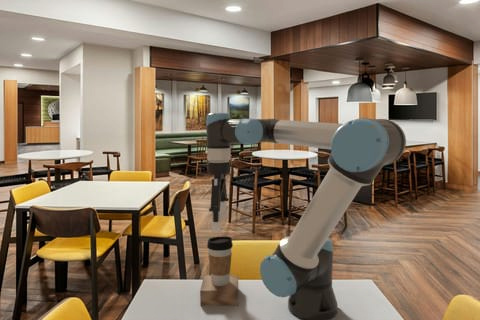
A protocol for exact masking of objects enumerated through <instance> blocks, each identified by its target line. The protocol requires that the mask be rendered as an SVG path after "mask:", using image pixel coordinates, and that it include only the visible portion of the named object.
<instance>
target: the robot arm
mask: <svg viewBox="0 0 480 320" xmlns="http://www.w3.org/2000/svg"><path fill="white" fill-rule="evenodd" d="M205 128H206V150H205V152H204V153H205V154H206V155H207V156H206V158H207V159H206V160H207V161H208V162H207V163H206V164H207V165H206V169H207V171H206V173H207V174H209V175H213V178H211V195H210V208H209V209H208V211H209V212H211V233H221V232H222V221H223V222H224V221H226V222H227V217H228V216H227V202H229V197H228V193H227V179H226V175H228V174H230V173H231V170H232V169H231V162H230V160H231V158H232V157H231V153H232V152H231V144H239V145H241V144H243V145H246V146H247V145H256V144H258V143H272V144H283V145H291V146H298V147H306V148H315V149H322V150H325V149H326V150H331V153H330V155H329V157H328V159H327V164H328V165H329V170H328V171H327V173H326V175H325V176H324V178H323V179H322V181H321V182H320V184H319V186H318V188H317V190H316V191H315V194H314V195H313V197H312V198H311V200H310V201H309V203H308V204H307V207H306V208H305V210H304V212H303V214H302V215H301V217H300V219H299V220H298V222H297V223H296V225H295V227H294V228H293V230H292V232H291V234H290V235H289V236H285V237H283V238H282V239H281V240H280V242H279V243H278V245H277V247H276V248H275V250H274V251H273V253H271V254H268V255H267V256H266V257H264V258H263V259H262V260H261V262H260V265H259V266H260V267H259V272H260V276H261V281H262V283H263V285H264V286H265V288H266V289H267V290H268V291H269V292H270V293H271V294H272V295H274V296H276V297H277V298H279V297H280V298H287V297H288V300H287V301H288V302H287V309H288V310H289V312H290V313H291V314H292V315H294V316H295V317H297V318H298V319H299V318H300V319H303V320H331V319H333V318H335V316H337V314H338V300H337V298H336V295H335V291H334V287H333V265H334V262H333V261H334V260H333V258H334V249H333V245H334V244H333V241H332V240H331V239H329V237H330V235H331V234H332V232H333V231H334V230H335V228H336V226H337V225H338V223H339V222H340V220H341V219H342V217H343V216H344V214H345V213H346V211H347V210H348V208H349V206H350V205H351V204H352V202H353V200H354V199H355V197H356V196H357V194H358V192H359V191H360V190H361V188H362V187H364V186H365V187H366V186H370V185H371V184H372V183H373V182H374V180H375V178H376V177H377V176H378V174H379V173H380V171H381V170H382V169H383V167H384V166H388V165H391V164H393V163H395V162H396V161H397V160H399V159H400V158H401V156H402V155H403V154H404V152H405V149H406V146H407V138H406V134H405V132H404V130H403V129H402V127H401V126H400V125H399V124H398V123H396V122H395V121H392V120H390V119H386V118H369V117H368V118H367V117H366V118H364V117H361V118H356V119H352V120H349V121H347V122H344V123H334V122H318V121H317V122H316V121H307V120H306V121H305V120H303V121H302V120H290V119H277V118H233V119H231V115H230V113H228V112H227V113H226V112H215V113H214V112H210V113H208V114H207V115H206V125H205Z"/></svg>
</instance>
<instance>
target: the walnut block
mask: <svg viewBox="0 0 480 320" xmlns="http://www.w3.org/2000/svg"><path fill="white" fill-rule="evenodd" d="M201 281H202V282H201V285H200V290H199V295H200V296H199V299H200V303H199V304H200V306H202V307H205V306H207V307H209V306H212V307H213V306H214V307H216V306H217V307H219V306H220V307H221V306H222V307H224V306H226V307H228V306H229V307H231V306H232V307H233V306H235V307H236V306H239V275H238V274H233V275H232V274H230V279H229V284H227V285H225V286H215V285H213V284H212V281H211V274H209V275H207V274H206V275H203V277H202V280H201Z"/></svg>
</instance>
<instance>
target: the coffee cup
mask: <svg viewBox="0 0 480 320" xmlns="http://www.w3.org/2000/svg"><path fill="white" fill-rule="evenodd" d="M206 245H207V247H206V248H207V249H208V253H207V254H208V263H209V271H210V275H211V281H212V284H213V285H215V286H225V285H227V284H229V279H230V275H231V264H232V254H233V253H232V252H233V251H232V248H233V239H232V237H231V236H213V237H210V238H208V239H207V244H206Z"/></svg>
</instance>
